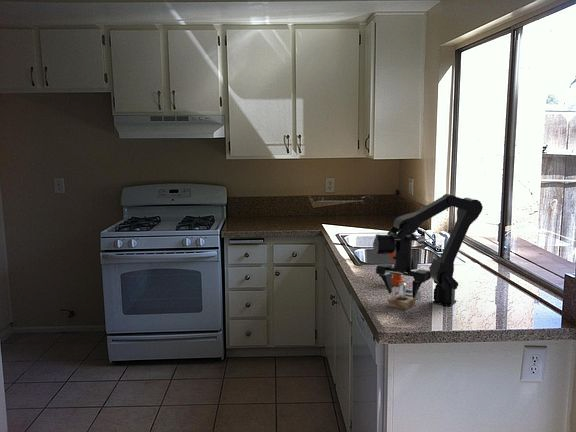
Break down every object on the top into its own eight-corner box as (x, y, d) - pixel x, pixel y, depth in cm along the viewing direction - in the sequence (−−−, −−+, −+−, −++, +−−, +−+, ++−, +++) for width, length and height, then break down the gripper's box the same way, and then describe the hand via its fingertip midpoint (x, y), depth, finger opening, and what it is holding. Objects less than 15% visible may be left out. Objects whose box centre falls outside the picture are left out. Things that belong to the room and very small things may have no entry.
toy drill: (388, 270, 225) (390, 237, 221) (405, 288, 207) (409, 253, 203) (377, 271, 224) (379, 238, 220) (394, 288, 206) (397, 253, 202)
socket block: (415, 304, 184) (415, 297, 184) (406, 309, 179) (406, 302, 178) (397, 300, 189) (397, 294, 188) (388, 305, 183) (388, 299, 183)
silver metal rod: (406, 305, 184) (406, 283, 183) (403, 306, 182) (403, 284, 181) (400, 303, 185) (400, 282, 184) (397, 305, 184) (397, 283, 182)
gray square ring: (420, 297, 192) (420, 290, 192) (412, 302, 187) (412, 295, 187) (403, 293, 197) (403, 287, 196) (394, 298, 191) (394, 291, 191)
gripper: (437, 252, 181) (436, 295, 184) (389, 245, 193) (388, 285, 195) (424, 258, 173) (423, 303, 175) (375, 250, 184) (374, 293, 187)
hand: (401, 295), depth 183 cm, fingers open, 9 cm apart
